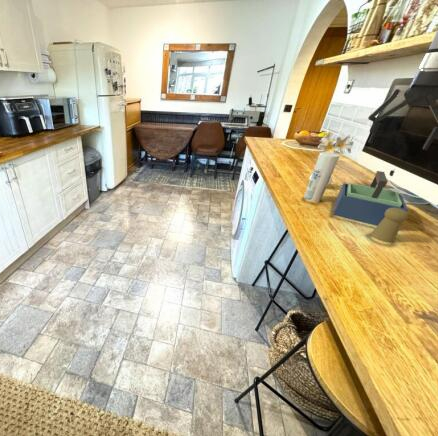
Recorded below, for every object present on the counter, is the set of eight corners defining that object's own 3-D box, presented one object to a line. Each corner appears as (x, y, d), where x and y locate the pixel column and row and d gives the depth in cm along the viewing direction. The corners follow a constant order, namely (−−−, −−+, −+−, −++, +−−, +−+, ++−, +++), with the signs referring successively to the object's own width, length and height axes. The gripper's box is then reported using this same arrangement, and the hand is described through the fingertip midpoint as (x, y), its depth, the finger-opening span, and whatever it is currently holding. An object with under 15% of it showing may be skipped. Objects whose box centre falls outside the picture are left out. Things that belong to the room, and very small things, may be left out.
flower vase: (301, 189, 114) (320, 134, 101) (305, 178, 127) (324, 128, 114) (333, 196, 107) (359, 139, 94) (335, 184, 120) (358, 132, 107)
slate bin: (388, 214, 93) (401, 194, 88) (393, 232, 82) (407, 209, 78) (334, 202, 102) (343, 183, 97) (332, 216, 91) (342, 195, 87)
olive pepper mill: (373, 242, 77) (392, 212, 71) (366, 232, 82) (382, 203, 76) (397, 246, 75) (417, 216, 69) (388, 236, 80) (406, 207, 74)
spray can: (300, 196, 107) (317, 151, 97) (316, 197, 106) (334, 152, 96) (306, 202, 101) (324, 155, 91) (322, 204, 100) (343, 157, 90)
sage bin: (384, 213, 92) (407, 175, 84) (388, 226, 84) (413, 186, 76) (339, 202, 100) (356, 167, 92) (338, 214, 91) (356, 176, 83)
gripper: (379, 70, 73) (349, 142, 83) (510, 69, 59) (453, 154, 70) (378, 71, 78) (350, 138, 88) (498, 70, 65) (447, 149, 75)
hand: (395, 145), depth 79 cm, fingers open, 13 cm apart
